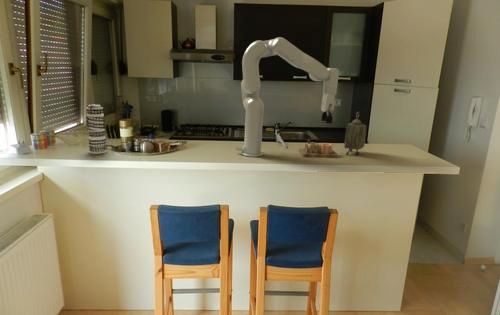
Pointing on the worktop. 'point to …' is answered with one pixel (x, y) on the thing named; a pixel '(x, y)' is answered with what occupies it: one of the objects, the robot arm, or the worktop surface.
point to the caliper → (281, 140)
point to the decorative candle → (96, 129)
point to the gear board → (330, 155)
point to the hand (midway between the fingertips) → (326, 122)
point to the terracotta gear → (325, 148)
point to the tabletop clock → (355, 135)
